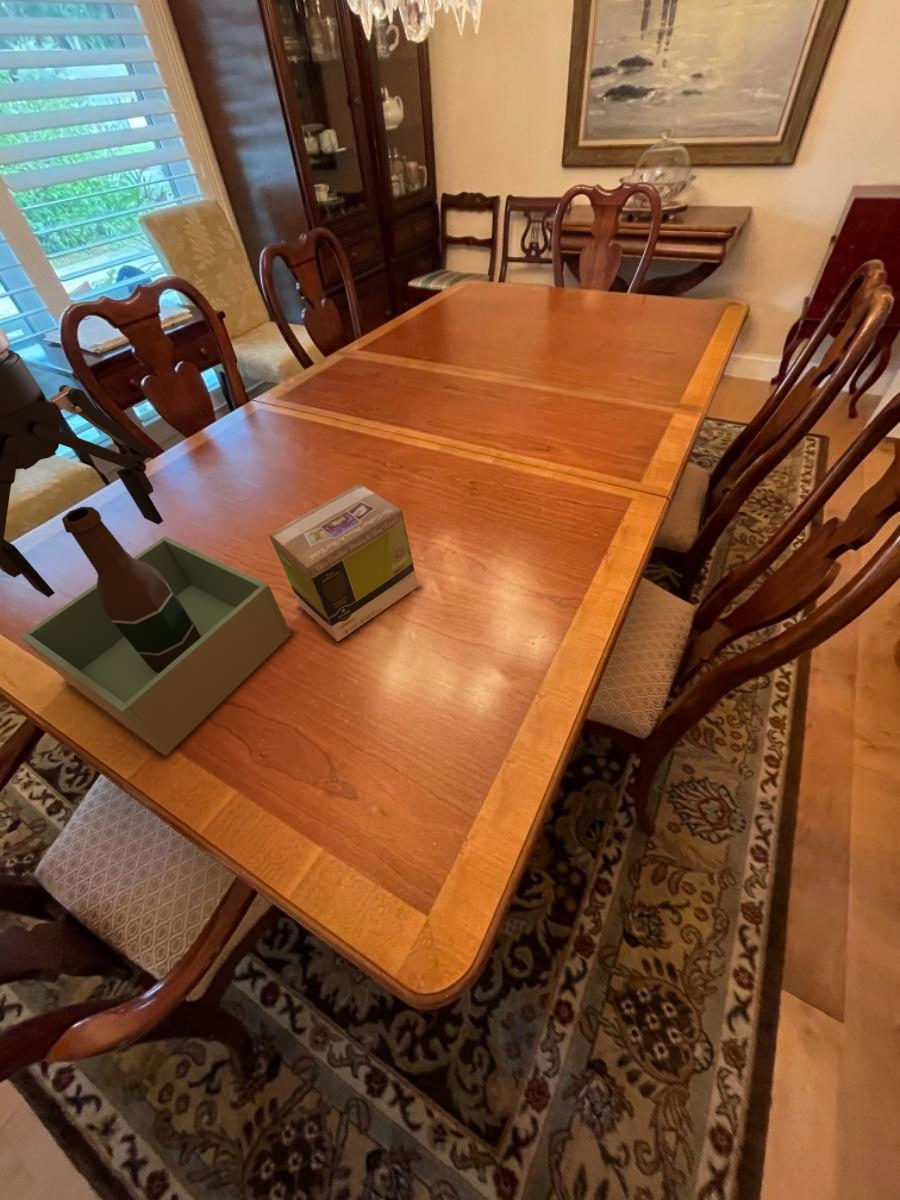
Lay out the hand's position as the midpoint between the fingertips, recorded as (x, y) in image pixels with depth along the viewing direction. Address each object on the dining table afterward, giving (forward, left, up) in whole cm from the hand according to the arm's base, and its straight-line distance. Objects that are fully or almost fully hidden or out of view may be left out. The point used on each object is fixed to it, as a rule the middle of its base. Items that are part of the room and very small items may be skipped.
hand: (103, 553), depth 60 cm
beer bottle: (0, 0, -19) cm, 19 cm away
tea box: (+21, -15, -20) cm, 33 cm away
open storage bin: (0, 0, -20) cm, 20 cm away
